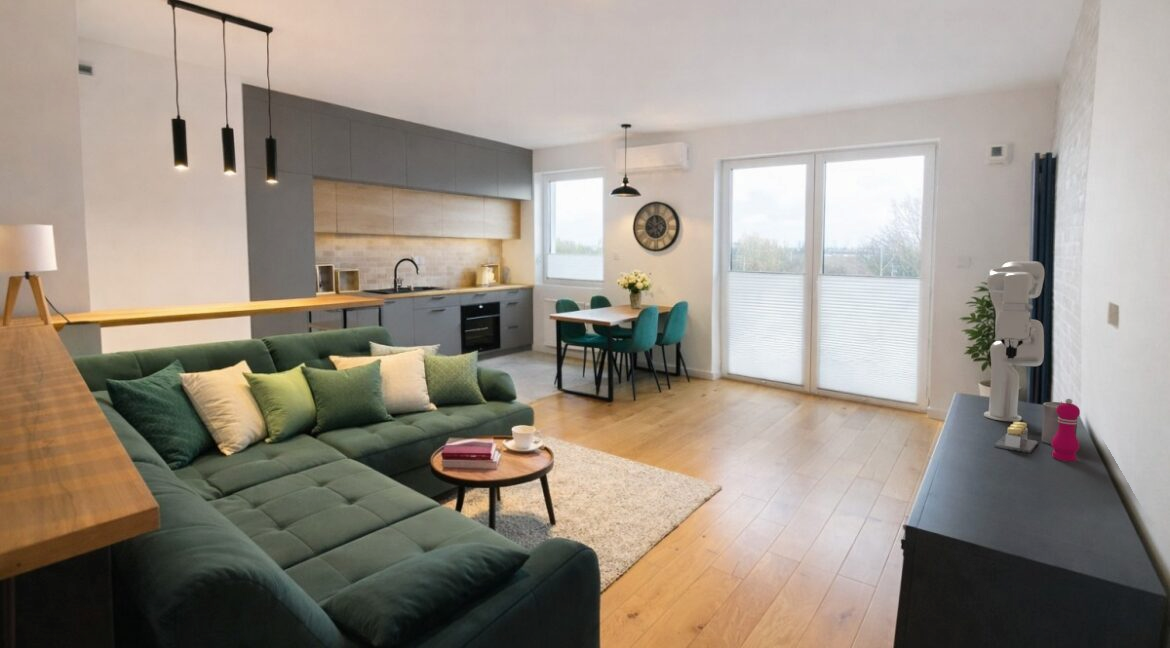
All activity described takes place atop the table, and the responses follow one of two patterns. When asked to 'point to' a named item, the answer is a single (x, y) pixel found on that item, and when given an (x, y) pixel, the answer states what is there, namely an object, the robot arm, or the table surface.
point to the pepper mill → (1066, 432)
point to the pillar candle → (1050, 421)
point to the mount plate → (1016, 442)
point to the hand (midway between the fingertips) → (1010, 357)
